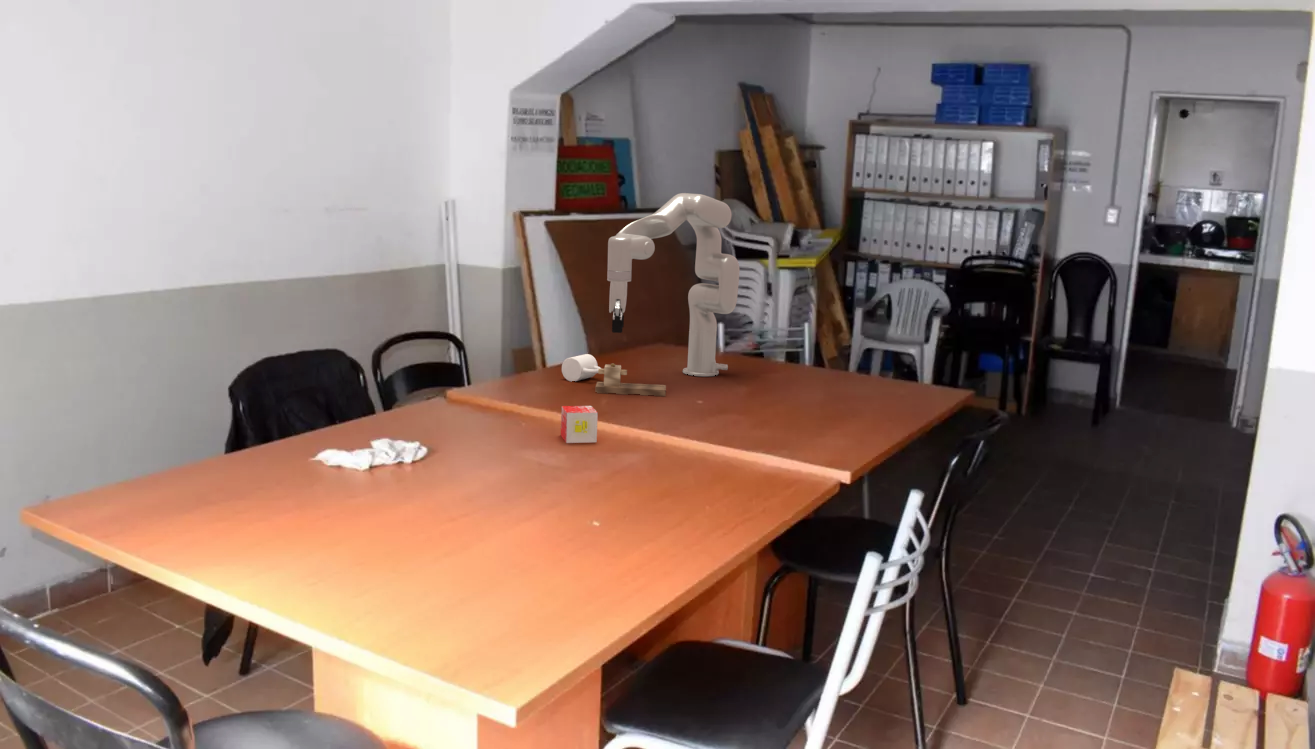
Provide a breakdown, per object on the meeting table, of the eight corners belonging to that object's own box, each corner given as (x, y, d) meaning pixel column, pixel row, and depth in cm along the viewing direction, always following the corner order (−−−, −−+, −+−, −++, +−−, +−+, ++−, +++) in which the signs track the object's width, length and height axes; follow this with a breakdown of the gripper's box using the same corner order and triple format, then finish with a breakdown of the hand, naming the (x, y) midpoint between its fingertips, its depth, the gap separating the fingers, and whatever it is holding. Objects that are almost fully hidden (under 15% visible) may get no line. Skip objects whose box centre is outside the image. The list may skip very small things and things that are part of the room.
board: (665, 391, 347) (665, 384, 346) (665, 396, 339) (665, 389, 338) (597, 387, 347) (597, 381, 346) (595, 392, 339) (595, 386, 338)
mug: (560, 380, 357) (561, 356, 356) (577, 375, 366) (578, 352, 364) (591, 385, 351) (592, 360, 350) (607, 380, 360) (608, 357, 359)
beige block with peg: (626, 384, 345) (627, 363, 343) (626, 386, 340) (626, 365, 339) (598, 382, 345) (599, 361, 343) (597, 385, 340) (598, 364, 339)
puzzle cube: (566, 443, 276) (567, 413, 275) (560, 435, 284) (561, 406, 282) (596, 442, 278) (598, 412, 277) (590, 435, 286) (591, 405, 284)
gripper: (608, 272, 347) (607, 325, 351) (605, 278, 330) (604, 334, 334) (632, 273, 347) (630, 326, 351) (630, 279, 330) (628, 335, 334)
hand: (617, 330), depth 342 cm, fingers open, 9 cm apart
